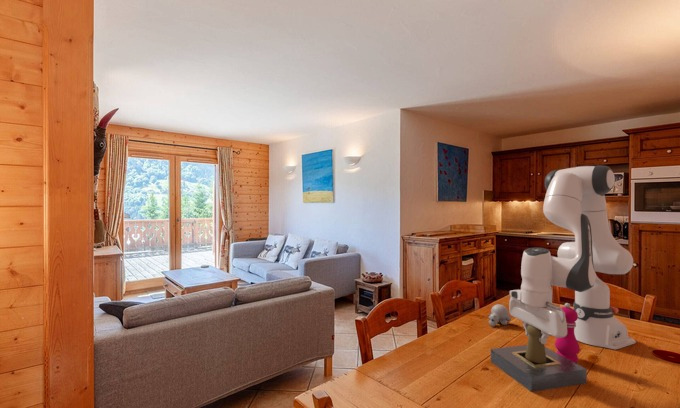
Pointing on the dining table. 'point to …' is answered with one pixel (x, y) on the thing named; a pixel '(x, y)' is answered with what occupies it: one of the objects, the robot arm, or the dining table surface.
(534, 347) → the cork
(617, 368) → the dining table surface
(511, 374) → the block
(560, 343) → the pepper mill
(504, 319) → the round bodied animal figurine
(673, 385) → the dining table surface
